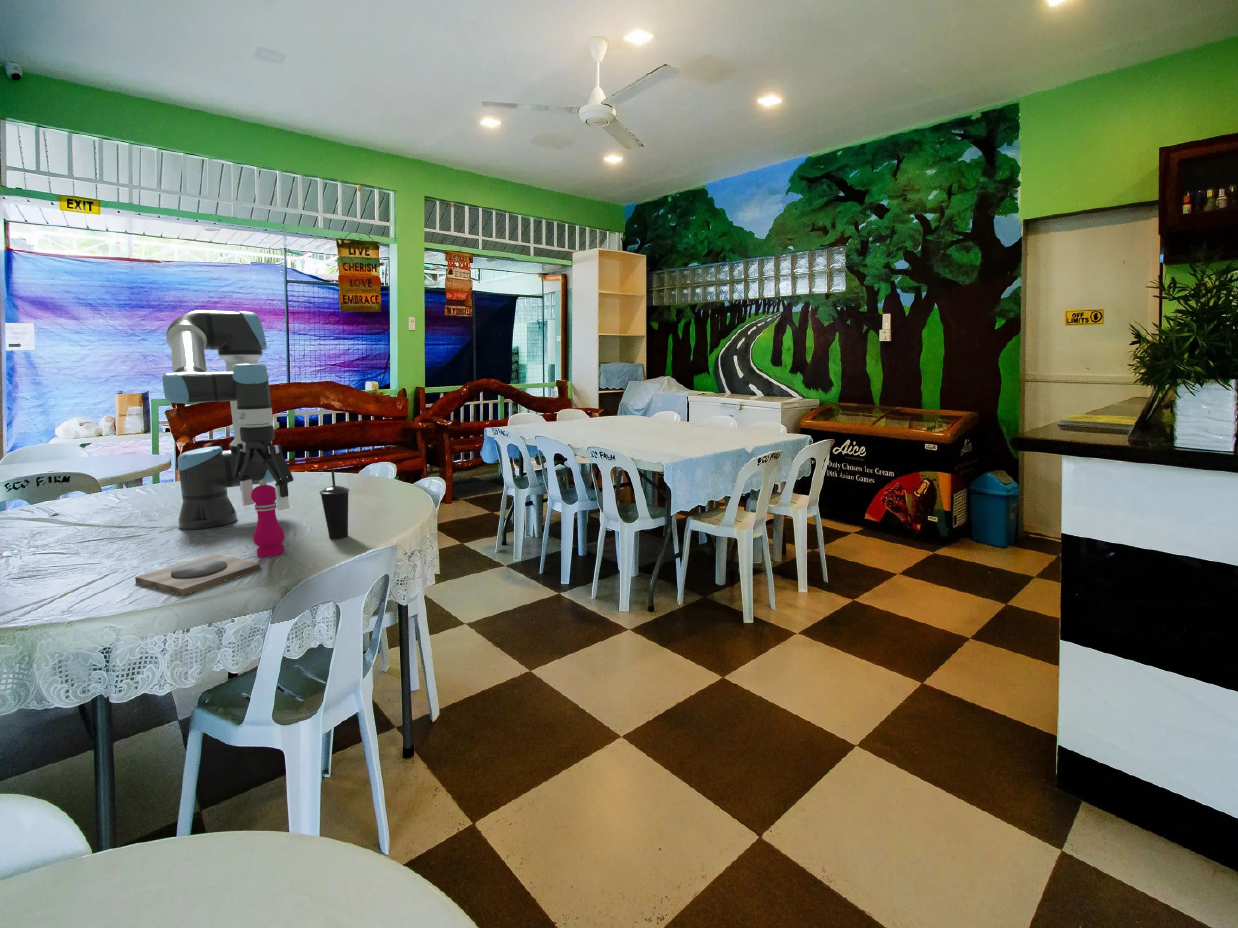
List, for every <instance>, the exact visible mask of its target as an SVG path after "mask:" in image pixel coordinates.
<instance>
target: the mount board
mask: <svg viewBox="0 0 1238 928" xmlns="http://www.w3.org/2000/svg"><path fill="white" fill-rule="evenodd" d="M259 569H261V570H262V565H261V563H259V562H254V561H251V560H245V559H240V558H235V557H231V556H227V555H222V554H217V553H213V554H209V555H205V556H202V557H199V558H195V559H192V560H191V559H190V560H189V561H185V562H183V563H179V564H175V565H171V566H167V567H165V568H161V569H157V570H154V571H150V572H147V573H144V574H140V575H137V576H135V577H134V579H135V584H137V583H139V584H138V585H141V584H142V585H141V586H145V587H149V586H151V587H150V588H152V587H155V588H154V589H156V588H157V589H156V590H160V589H161V591H165V592H168V593H171V592H174V593H173V594H175V593H178V594H177V595H179V594H181V595H180V596H183V595H184V596H186V595H185V594H187V595H189V594H188V593H190V592H193V593H195V592H198V591H197V590H199V591H201V590H200V589H202V590H204V589H203V588H205V589H207V588H206V587H208V588H210V587H209V586H211V587H213V586H217V585H219V584H221V583H220V582H222V583H224V582H223V581H225V580H228V581H231V580H234V579H236V578H235V577H237V578H239V577H238V576H240V577H242V576H241V575H243V576H245V575H244V574H246V575H248V574H251V573H254V571H255V572H258V571H260V570H259ZM257 570H258V571H257ZM233 578H234V579H233ZM230 579H231V580H230ZM225 582H226V581H225ZM218 583H219V584H218ZM190 594H191V593H190Z"/></svg>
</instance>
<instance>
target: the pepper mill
mask: <svg viewBox="0 0 1238 928" xmlns="http://www.w3.org/2000/svg"><path fill="white" fill-rule="evenodd" d="M259 484H260V485H259ZM259 484H258V486H254V487H253V490H252V492H251V499H252V500H253V502H254V503H255V504H253V505H254V507H255V508H254V510H255V512H256V513H257V523H256V526H255V530H254V532H253V536H252V537H253V543H254V544H255V545H256V546H257V548H256V554H257V557H259V558H273V557H277V556H281V555H282V554H284V553H285V545H284V544H282V543H283V542H284V541H285V538H286V534H285V531H284V529H283V527H282V526H281V525H280V523H279V521H278V519H277V514H276V509H277V500H276V491H275V486H273V485H270V484H268V483H267V481H266V480H265V479H262V480H260V481H259Z"/></svg>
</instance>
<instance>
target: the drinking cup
mask: <svg viewBox="0 0 1238 928" xmlns="http://www.w3.org/2000/svg"><path fill="white" fill-rule="evenodd" d="M330 472H331V482H332V483H331V484H332V485H330V486H328V487H325V488H324V489H321V490H320V491H319V495H320V496H321V504H322V507H323V512H324V517H325V522H326V527H327V532H328V538H329V539H330V540H341V539H345V538H347V537H349V492H350V489H349V488H348V487H345V486H341V485H336V479H335V468H333V467H332V468H330Z"/></svg>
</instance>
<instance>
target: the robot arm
mask: <svg viewBox="0 0 1238 928" xmlns="http://www.w3.org/2000/svg"><path fill="white" fill-rule="evenodd" d="M165 336H166V343H167V345H168V347H169V348H170V349H171V364H172V365H171V368H172V371H171V372H167V373H164V374H163V375H162V389H163V394H164V398H165V401H166V402H167V403H170V404H190V403H191V404H193V403H210V402H212V403H213V402H230V413H231V417H232V418H231V419H232V420H231V421H232V428H233V435H234V437H233V440H231V442H230V443H229V450H223V448H222V447H221V445H220V446H219V445H216V446H215V445H214V446H206V447H199V448H196V449H192V450H187V451H185V452H182V453H181V454H179V455H178V457H177V471H178V474H179V482H180V484H179V485H180V491H181V498H182V503H181V508H180V512H179V515H178V527H179V528H180V529H184V530H202V529H210V528H209V527H211V528H215V527H214V526H217V527H220V526H219V525H222V526H224V525H230V524H231V523H234V522H235V521H238V514H237V512H236V509H235V507H234V506H233V503H232V502H231V500H230V498H229V496H228V488H235V487H239V489H240V492H241V500H242V501H241V502H242V506H244V507H246V506H250V505H255V504H256V503H255V502H253V500H252V499H251V492H252V490H253V489H254V487H253V486H254V485H258V486H260V484H259V481H260V480H262V479H265V480H266V481H267V484H270V483H273V482H276V483H275V484H274V488H275V491H276V500H275V501H276V503H277V504H276V506H277V508H276V509H277V511H278V512H279V511H284V510H287V509H290V503H289V501H290V500H289V487H288V486H289V485H288V484H289V483H291V482H294V477H293V474H292V472H291V470H290V467H289V465H288V463H287V460H286V458H285V457H284V456H285V455H284V453H283V449H282V445H281V444H275V445H273V440H275V438H276V436H275V427H274V426H273V425H272V424H273V423H274V416H273V408H272V403H271V395H270V394H271V391H270V383H269V377H270V376H269V373H268V369H267V366H266V365H265V364H264V363H259V362H258V361H259V360H260V359H261V358H262V357H263V351H266V350H267V347H268V345H267V341H266V340H267V339H266V334H265V331H264V328H263V324H262V321H261V319H260V316H259V315H258V314H257V313H255V312H253V311H245V310H243V311H242V310H204V309H203V310H202V309H201V310H200V309H199V310H193V311H189V312H187V313H184V314H182V315H180V316H179V317H177V318H175V319H174V320H173V321H172V322H171V323H170V325H169V326H168V328H167V330H166V334H165ZM207 350H208V351H209V350H211V351H217V353H218V357H219V358H220V359H222V360H223V361H224V362H225V370H226V371H217V372H216V371H212V372H211V371H209V372H208V370H207V361H206V355H205V351H207Z"/></svg>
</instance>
